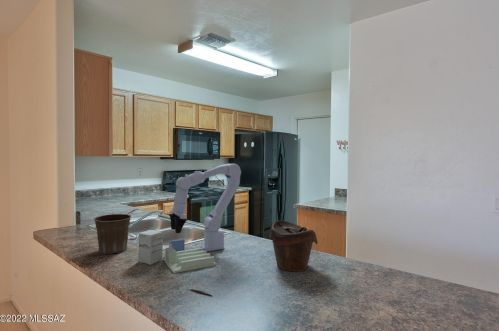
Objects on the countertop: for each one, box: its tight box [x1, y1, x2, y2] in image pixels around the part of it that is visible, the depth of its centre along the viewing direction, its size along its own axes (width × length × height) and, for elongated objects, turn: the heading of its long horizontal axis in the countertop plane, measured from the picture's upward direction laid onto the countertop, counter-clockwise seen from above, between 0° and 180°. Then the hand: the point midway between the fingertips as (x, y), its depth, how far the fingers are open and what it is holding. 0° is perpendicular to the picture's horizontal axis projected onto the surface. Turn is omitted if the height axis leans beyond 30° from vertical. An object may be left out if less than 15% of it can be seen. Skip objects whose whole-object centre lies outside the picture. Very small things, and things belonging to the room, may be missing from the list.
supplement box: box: [137, 229, 164, 265], centre depth 125 cm, size 7×7×13 cm
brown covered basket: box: [269, 220, 318, 272], centre depth 121 cm, size 18×20×18 cm
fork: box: [173, 279, 213, 297], centre depth 98 cm, size 3×16×2 cm, turn 61°
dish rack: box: [162, 243, 217, 274], centre depth 124 cm, size 18×16×8 cm
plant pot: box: [93, 213, 132, 255], centre depth 139 cm, size 16×16×16 cm
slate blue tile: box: [168, 238, 186, 252], centre depth 137 cm, size 7×2×6 cm, turn 120°
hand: (175, 231), depth 136 cm, fingers open, 7 cm apart
